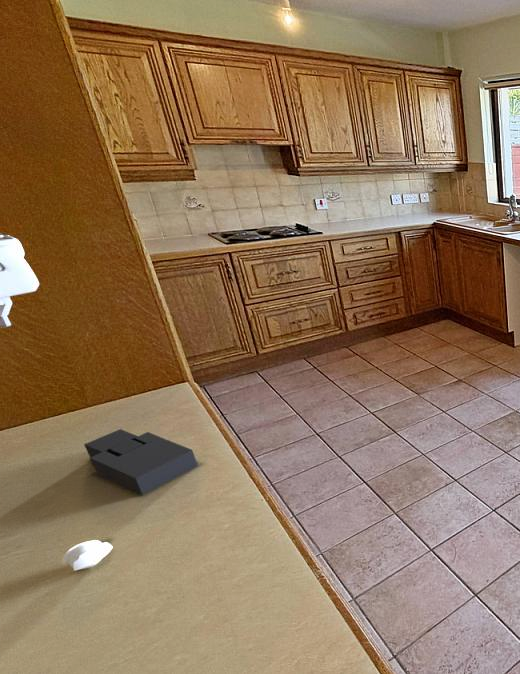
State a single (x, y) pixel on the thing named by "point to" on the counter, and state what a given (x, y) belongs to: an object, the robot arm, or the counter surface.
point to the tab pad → (113, 443)
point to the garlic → (86, 554)
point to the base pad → (145, 464)
